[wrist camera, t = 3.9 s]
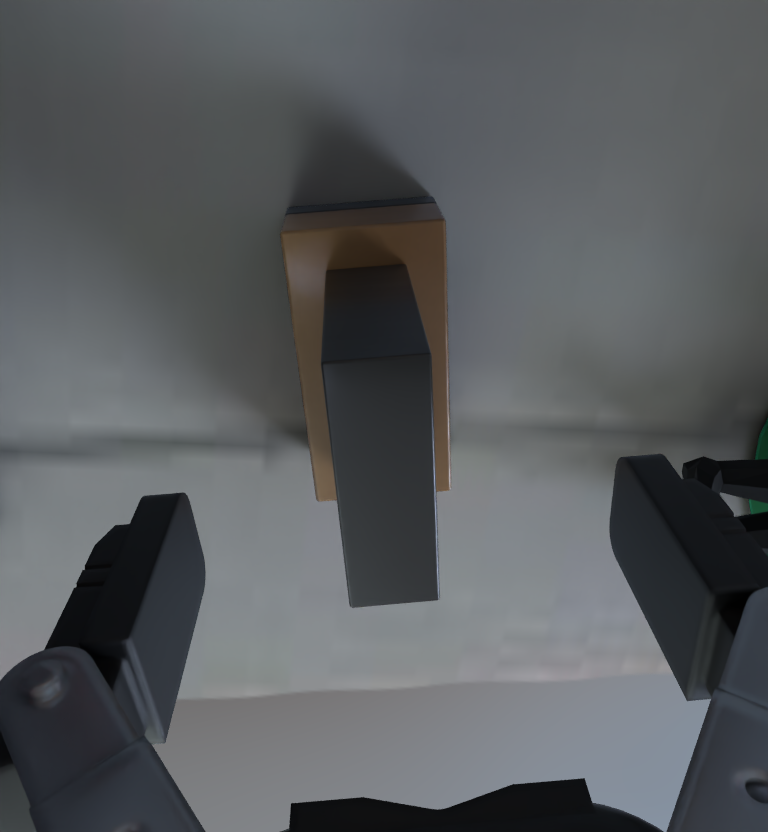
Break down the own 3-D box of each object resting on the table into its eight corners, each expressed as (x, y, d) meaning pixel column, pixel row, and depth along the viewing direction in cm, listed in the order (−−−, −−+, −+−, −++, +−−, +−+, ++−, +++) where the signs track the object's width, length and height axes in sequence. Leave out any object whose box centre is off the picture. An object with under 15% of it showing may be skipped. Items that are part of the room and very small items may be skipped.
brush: (318, 455, 23) (309, 645, 16) (286, 207, 19) (255, 314, 12) (440, 445, 23) (484, 629, 16) (433, 195, 19) (488, 296, 12)
